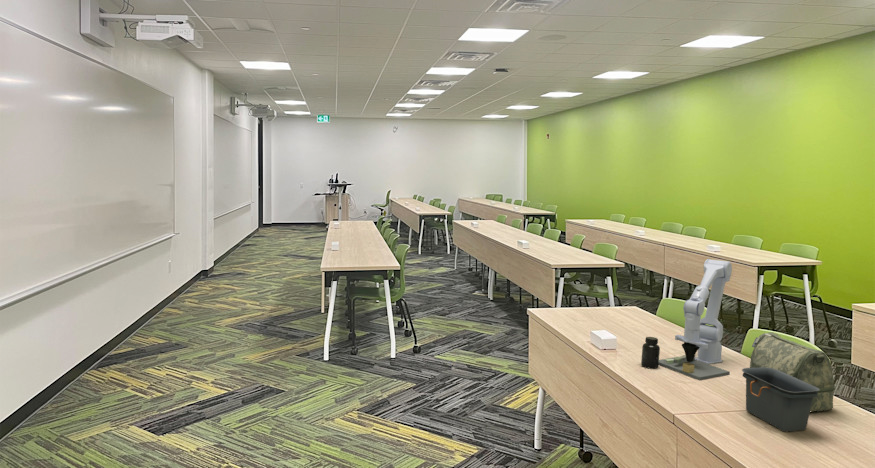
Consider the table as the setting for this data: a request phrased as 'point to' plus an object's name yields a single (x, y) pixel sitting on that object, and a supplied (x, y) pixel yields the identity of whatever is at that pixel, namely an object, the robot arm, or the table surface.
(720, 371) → the base
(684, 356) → the bar
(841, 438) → the table surface
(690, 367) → the yellow wooden cube
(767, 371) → the storage bin
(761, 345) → the lunch bag
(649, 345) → the supplement bottle
